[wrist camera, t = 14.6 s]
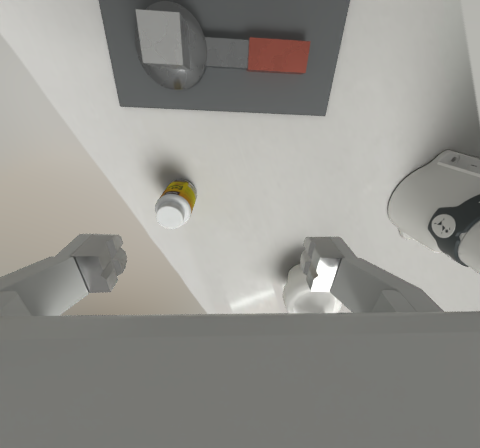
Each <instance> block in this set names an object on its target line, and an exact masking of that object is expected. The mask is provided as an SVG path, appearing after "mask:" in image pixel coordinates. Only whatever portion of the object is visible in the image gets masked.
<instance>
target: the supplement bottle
mask: <svg viewBox="0 0 480 448" xmlns="http://www.w3.org/2000/svg"><path fill="white" fill-rule="evenodd" d="M196 198H197V192H196V189H195V187H194V186H193V185H192V184H191V183H190V182H188V181H186V180H182V179H179V180H175V181H173V182H171V183H170V184H169V185H168V187H167V188H166V190H165V191H164V192H163V194H162V195H161V197H160V198H159V199H158V201H157V203H156V205H155V212H156V219H157V222H158V223H159V224H160V225H161V226H162V227H164V228H166V229H176V228H178V227H179V226H180V225H183V224H185V223H186V222H187V221H188V220H189V218H190V216H191V213H192V210H193V207H194V204H195V201H196Z"/></svg>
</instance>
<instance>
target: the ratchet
mask: <svg viewBox="0 0 480 448" xmlns="http://www.w3.org/2000/svg"><path fill="white" fill-rule="evenodd" d="M145 10H153V11H166V12H179V13H180V14H181V16H182V18H183V20H184V21H185V23H186V25H187V26H188V36H189V54H190V70H176V69H159V68H155V67H152V66H150V65H147V64H145V63H143V59H142V52H141V45H140V38H139V31H138V24H137V26H136V31H135V46H136V51H137V55H138V58H139V60H140V63H141V65H142V67H143V68H144V70H145V71H146V73H147V74H148V75H149V76H150V77H151V78H152V79H153V80H154V81H155V82H156V83H158V84H159V85H161V86H163V87H165V88H168V89H172V90H187V89H190V88H192V87H193V86H195V85H196V84H197V83H198V82H199V81H200V80H201V79H202V77H203V75H204V74H205V71H206V68H207V67H208V68H225V69H243V70H247V71H248V72H265V73H283V74H300V75H301V74H304V73H306V68H307V61H308V55H309V49H310V43H311V41H297V40H282V39H267V38H253V37H249V40H242V39H227V38H212V37H205V36H204V34H203V31H202V29H201V27H200V25H199V23H198V21H197V20H196V18H195V17H194V16H193V15H192V14H191V13H190V12H189V11H188V10H187V9H186V8H184V7H183V6H181V5H179V4H177V3H174V2H170V1H160V2H156V3H154V4H152V5H150V6H149V7H148V8H146V9H145Z"/></svg>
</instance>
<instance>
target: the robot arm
mask: <svg viewBox="0 0 480 448" xmlns="http://www.w3.org/2000/svg"><path fill="white" fill-rule="evenodd" d="M452 158H453V159H452ZM388 215H389V218H390V220H391V222H392V223H393V224H394V225H395V226H397V227H398V229H399V231H400V235H401V237H402V238H404V239H406V240H412V239H414V240H415V241H417V242H419V243H420V244H422V245H423V246H425V247H427V248H428V249H430V250H431V251H433V252H435V253H445V254H446V255H447V256H448V257H449V258H451V259H452V260H454V261H456V262H458V263H460V264H461V265H463V266H466V267H470V268H471V269H473V270H474V271H476V272H477V273H479V274H480V159H479V158H476V157H472V156H469V155H465V154H462V153H458V152H455V151H451V150H446V151H444V152H442V153H441V154H440V155H438V156H437V157H436V158H435V159H434V160H433V161H432V162H431V163H429V164H427V165H426V166H424V167H422V168H420V169H418V170H416V171H415V172H413V173H412V174H410V175H409V176H408V177H406V178H405V179H404V180H403V181H402V182H401V183H400V184H399V186H398V187H397V188H396V190H395V191H394V193H393V195H392V197H391V199H390V202H389V206H388ZM122 244H123V241H122V238H121V236H119V235H111V234H109V235H108V234H80V235H78V236H77V237H76V238H75V239H74V240H73V241H72V242H70V243H69V244H68V245H67V246H66V247H65V248H64V249H63V250H62V251H61V252H59V253H58V254H57V255H56V256H55V257H49V258H46V259H44V260H41V261H39V262H36V263H34V264H31V265H29V266H27V267H24V268H22V269H19V270H17V271H15V272H12V273H10V274H7V275H5V276H2V277H0V448H480V311H471V312H444V311H443V310H442V309H441V308H440V307H439V306H438V305H437V304H436V303H435V302H434V301H433V300H432V299H431V298H430V297H429V296H428V295H427V294H426V293H425V292H424V291H423V290H422V289H420V288H418V287H416V286H414V285H412V284H410V283H408V282H406V281H404V280H403V279H401V278H399V277H397V276H395V275H393V274H391V273H389V272H387V271H385V270H383V269H381V268H379V267H377V266H375V265H373V264H371V263H369V262H367V261H366V260H364V259H362V258H357V257H356V255H355V254H354V253H353V252H352V251H351V249H350V248H349V247H348V246H347V244H346V243H345V242H344V241H343V239H342V238H340V237H306V238H305V240H304V244H303V245H304V247H305V250H304V251H303V252H302V253H301V258H300V265H301V269H302V272H303V273H304V274H305V275H307V278H306V281H307V284H308V286H309V288H310V290H311V291H318V292H330V293H331V294H332V295H333V296H335V297H336V298H337V299H338V300H339V301H340V302H341V303H343V304H344V305H345V306H346V307H347V308H348V309H349V310H351V311H352V312H353V313H275V314H186V315H185V314H184V315H183V314H180V315H85V316H83V315H81V316H59V315H61V314H62V313H63V312H65V311H66V310H67V309H69V308H70V307H71V306H73V305H74V304H76V303H77V302H78V301H80V300H81V299H82V298H84V297H85V296H86V295H88V294H89V293H96V292H111V291H112V289H113V287H114V286H115V284H116V283H117V281H118V279H117V276H118V275H119V274H121V273H123V271H124V269H125V267H126V262H127V256H126V253H125V251H124V250H123V249H122V248H121V246H122Z"/></svg>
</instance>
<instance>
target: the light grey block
mask: <svg viewBox="0 0 480 448" xmlns="http://www.w3.org/2000/svg"><path fill="white" fill-rule="evenodd" d="M135 10H136V17H137V24H138V31H139V38H140V45H141V52H142V59H143V63H145V64H147V65H150V66H152V67H155V68H159V69H176V70H190V54H189V36H188V26H187V25H186V23H185V21H184V20H183V18H182V16H181V14H180V13H179V12H166V11H153V10H139V9H135Z"/></svg>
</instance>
